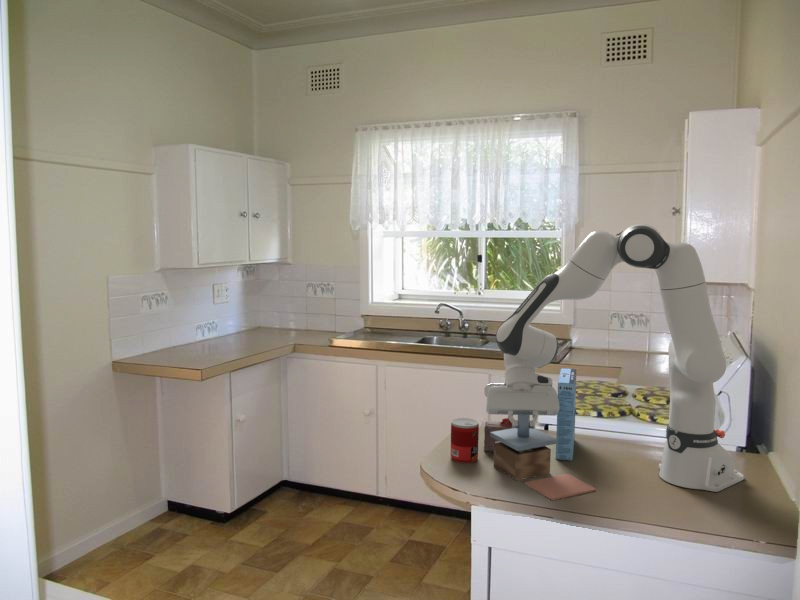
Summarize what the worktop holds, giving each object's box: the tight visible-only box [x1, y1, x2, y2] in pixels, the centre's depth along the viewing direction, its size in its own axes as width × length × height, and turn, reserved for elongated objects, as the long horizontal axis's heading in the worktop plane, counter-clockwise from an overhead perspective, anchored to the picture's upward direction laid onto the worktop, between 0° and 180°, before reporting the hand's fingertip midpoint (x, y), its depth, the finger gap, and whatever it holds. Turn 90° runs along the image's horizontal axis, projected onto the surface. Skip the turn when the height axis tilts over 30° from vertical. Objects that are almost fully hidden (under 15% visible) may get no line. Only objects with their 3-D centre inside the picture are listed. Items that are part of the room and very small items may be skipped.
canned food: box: [450, 417, 480, 464], centre depth 189 cm, size 8×8×11 cm
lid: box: [490, 413, 557, 451], centre depth 180 cm, size 13×13×8 cm
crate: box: [493, 441, 552, 481], centre depth 181 cm, size 11×11×7 cm
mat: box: [524, 473, 597, 501], centre depth 170 cm, size 14×11×1 cm
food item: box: [483, 417, 512, 453], centre depth 196 cm, size 14×8×10 cm, turn 76°
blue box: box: [555, 368, 577, 462], centre depth 196 cm, size 20×5×23 cm, turn 163°
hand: (523, 427), depth 179 cm, fingers closed on lid, 3 cm apart
